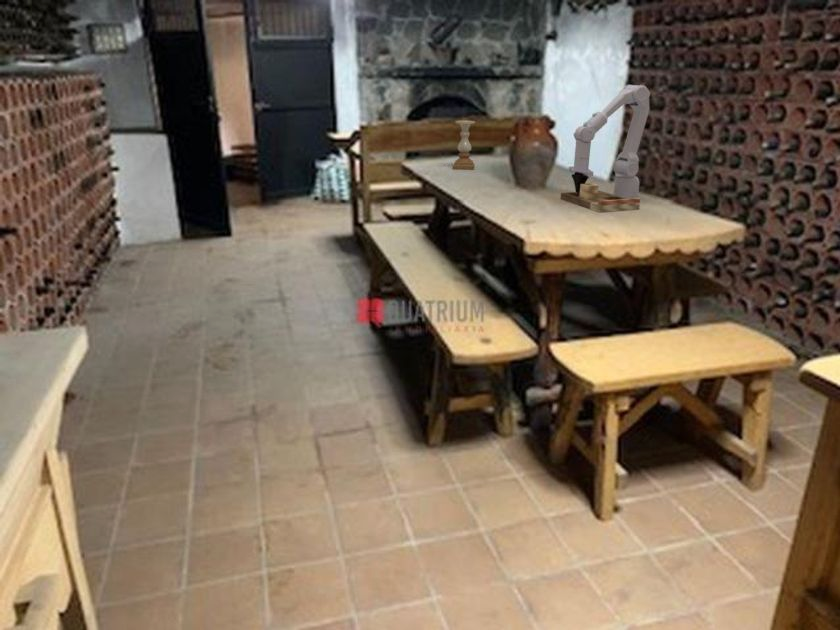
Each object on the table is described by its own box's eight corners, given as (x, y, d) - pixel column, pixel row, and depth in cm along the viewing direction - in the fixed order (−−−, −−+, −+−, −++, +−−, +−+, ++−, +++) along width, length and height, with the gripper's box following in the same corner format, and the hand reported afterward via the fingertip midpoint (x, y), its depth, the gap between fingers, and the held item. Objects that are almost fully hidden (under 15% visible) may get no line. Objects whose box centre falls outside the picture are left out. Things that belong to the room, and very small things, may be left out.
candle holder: (454, 166, 350) (455, 120, 342) (474, 166, 349) (476, 120, 340) (453, 169, 340) (454, 121, 331) (474, 169, 339) (475, 122, 330)
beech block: (590, 195, 260) (591, 183, 258) (597, 198, 256) (598, 185, 254) (579, 196, 259) (580, 184, 257) (586, 199, 254) (587, 186, 252)
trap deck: (597, 196, 273) (598, 186, 271) (639, 209, 249) (640, 198, 248) (560, 199, 267) (561, 189, 265) (599, 212, 243) (600, 201, 242)
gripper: (563, 155, 263) (560, 189, 268) (583, 160, 250) (580, 195, 255) (578, 155, 265) (575, 188, 270) (599, 159, 253) (595, 194, 257)
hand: (578, 192), depth 263 cm, fingers closed
